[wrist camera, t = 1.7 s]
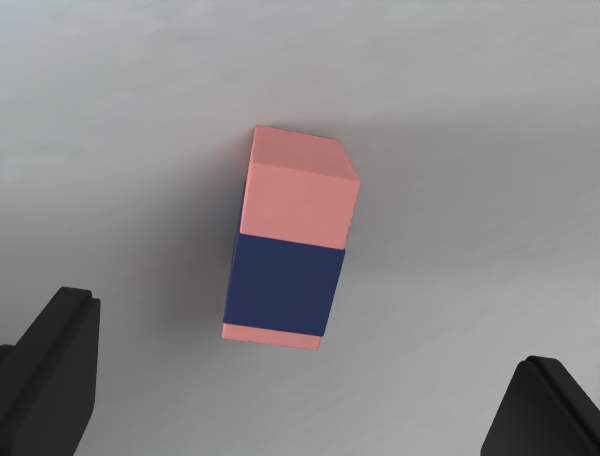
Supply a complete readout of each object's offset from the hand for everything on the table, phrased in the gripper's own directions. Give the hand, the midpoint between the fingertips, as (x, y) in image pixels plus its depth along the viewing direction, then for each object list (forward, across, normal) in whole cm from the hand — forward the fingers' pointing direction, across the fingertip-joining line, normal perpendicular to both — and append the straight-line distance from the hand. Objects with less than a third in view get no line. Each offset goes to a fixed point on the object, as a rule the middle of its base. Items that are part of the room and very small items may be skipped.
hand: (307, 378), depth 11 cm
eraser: (+10, 0, 0) cm, 10 cm away
